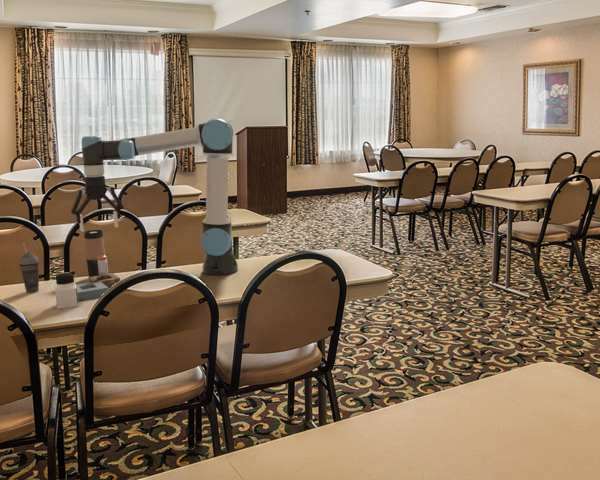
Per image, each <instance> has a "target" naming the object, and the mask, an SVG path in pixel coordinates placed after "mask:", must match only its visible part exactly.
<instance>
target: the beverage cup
mask: <svg viewBox="0 0 600 480" xmlns="http://www.w3.org/2000/svg"><path fill="white" fill-rule="evenodd" d="M25 243H26V242H24V241H23V242H22V244H23V245H22V246H23V248H24V254H22V255H21V256H20V258H19V262H18V265H19V269H20V271H21V275H22V280H23V284H24V287H25V288H24V290H25V292H26V293H27V294H33V293H34V294H35V293H37V292H38V293H39V291H40V290H39V288H40V286H39V285H40V284H39V279H40V277H39V266H40V261H39V258H38V257H37V255H35V254H34V253H31V252H27V247H26V244H25Z"/></svg>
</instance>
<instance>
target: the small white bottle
mask: <svg viewBox="0 0 600 480" xmlns="http://www.w3.org/2000/svg"><path fill="white" fill-rule="evenodd" d="M107 257H108V256H107V254H105V255H100V256H97V259H98V269H99V279H100V280H104V279H109V275H108V274H109V267H108V265H109V264H108V258H107Z"/></svg>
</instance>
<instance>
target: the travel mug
mask: <svg viewBox="0 0 600 480" xmlns="http://www.w3.org/2000/svg"><path fill="white" fill-rule="evenodd" d="M83 237H84V248H85V257H86V258H85V259H86V265H87V266H86V267H87V273H88V274H87V275H88V277H94V276H99V269H98V259H97V256H100V255H106V251H105V243H104V233H103V230H102V229H101V230H100V229H91V230H86V231H85V230H84V232H83Z"/></svg>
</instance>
